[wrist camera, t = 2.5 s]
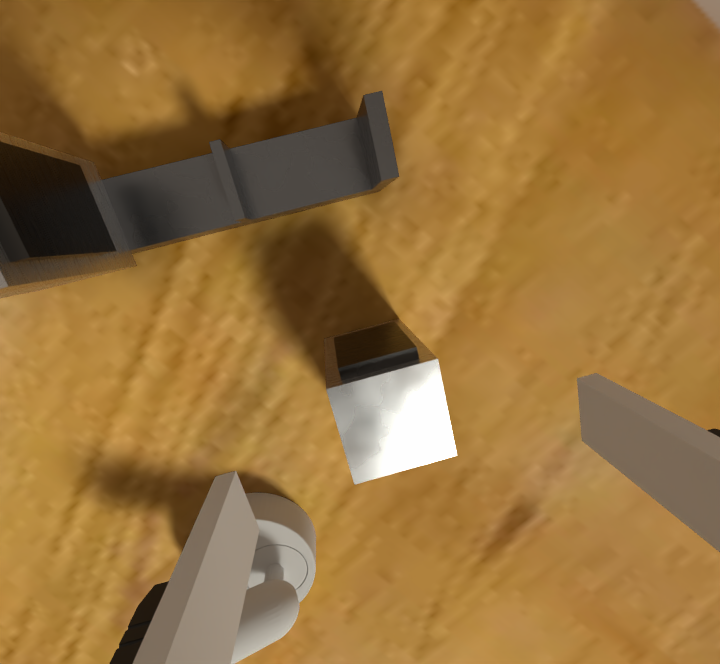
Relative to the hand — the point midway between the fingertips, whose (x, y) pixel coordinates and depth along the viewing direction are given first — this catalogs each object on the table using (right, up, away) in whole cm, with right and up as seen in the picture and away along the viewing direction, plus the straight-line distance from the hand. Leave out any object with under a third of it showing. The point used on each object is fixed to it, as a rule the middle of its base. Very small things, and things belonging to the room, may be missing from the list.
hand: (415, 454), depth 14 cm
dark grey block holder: (-11, +12, +7) cm, 18 cm away
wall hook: (-10, -11, +13) cm, 20 cm away
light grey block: (-1, +2, +10) cm, 11 cm away
